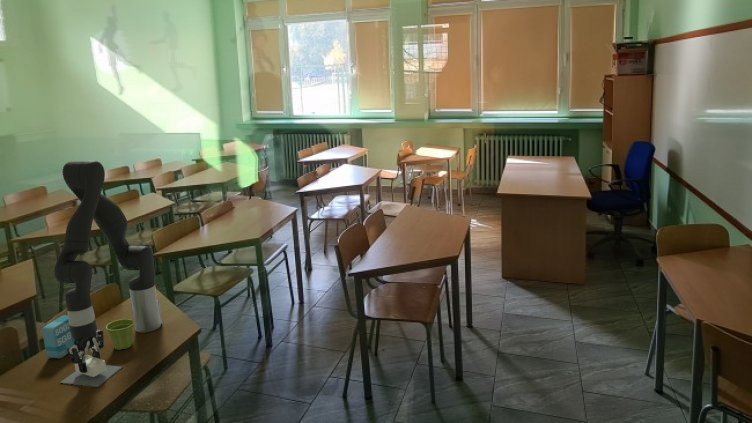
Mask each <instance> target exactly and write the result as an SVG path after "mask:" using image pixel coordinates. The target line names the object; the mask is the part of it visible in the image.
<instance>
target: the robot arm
mask: <svg viewBox="0 0 752 423" xmlns="http://www.w3.org/2000/svg"><path fill="white" fill-rule="evenodd" d="M62 177H63V180H64V182H65V184H66V186H67V187H68V188H69V189H70V190H71V192H72V193H73V194H74V195H75V196H76V197H77V198H78V200H79V201H80V203H79V206H78V207H77V208H76V210H75V211H74V213H73V214H72V216H71V217H70V219H69V221H68V223H67V225H66V227H65V228H66V229H65V235H64V242H63V248H62V249H61V251H60V253H59V256H58V258H57V260H56V262H55V265H54V270H53V272H54V273H53V274H54V278H55V279H56V281H57V282H59V283H61V284H75V288H71V289H68V290H67V291H66V292H65V294H64V299H65V304H66V309H67V315H68V321H69V326H70V331H71V336H72V337H73V338H74V345H73V346H72V347H71V348H68V349H67V351H68V354H67V355H68V357H69V359H70V361H71V364H74V365H75V364H78V366H79V371H80V372H81V373H86V372H87V367H86V362H85V360H86V355H89V354H88V353H89V350H90V351H91V356H92V357H95V358H99V359H102V358H101V354H100V352H101V349H103V348H104V339H105V338H104V330H100V329H98V326H97V322H96V315H95V310H94V308H93V304H92V299H91V286H92V279H93V269H92V266H91V264H89V263H88V261H85V260H76V259H77V257H78V256H79V255H82V254H86V253H87V252H88V251H89V248H90V241H91V240H90V239H91V233H92V227H93V226H92V225H93V222H94V223H95V224H96V226H97V227H98V228H99V230H100V231H101V233H102V234H103V235H104V237H105V239H106V240H107V242H108V243H109V246H110V247H111V248H112V250H113V251H112V252H114V254H115V256H116V258H117V260H118V263H119V265H120V266H121V267H122V268H123V269H124V270H127V271H139V274H138V276H135V277H132V278H131V279H130V280H129V281H128V288H129V289H128V290H129V295H130V302H131V306H132V314H133V321H134V328H135V332H137V333H139V334H140V333H141V334H143V333H144V334H145V333H150V332H154V331H157V330H158V329H160V328H161V326H162V324H163V320H162V314H161V306H160V301H159V300H158V295H157V289H156V280H155V279H156V271H155V257H154V253H153V250H152V248H151V247H150V246H147V245H131V244H130V243H129V242H128V241H127V239H126V234H127V231H128V226H129V223H128V219H127V218H126V216H125V213H124V212H123V211H122V209H121V207H120V206H119V205H118V204H117V203H116V202H114V201H112V200H111V199H110V198H108V197H107V196H105V195H104V194H102V191H103V188H104V184H105V179H106V171H105V168H104V166H103V164H102V163H101V162H100V161H98V160H71V161H68V162H66V163H65V164H64V165H63V167H62ZM80 358H82V359H80Z"/></svg>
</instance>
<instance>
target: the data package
mask: <svg viewBox="0 0 752 423" xmlns="http://www.w3.org/2000/svg"><path fill="white" fill-rule="evenodd" d="M41 332H42V333H41V334H42V338H43V343H44V349H45V352H46V357H47V358H49V359H62V358H64V357H65V356H67V355H69V354H68V351H67V349H68V348H71V347H72V346H73V345H74V338H73V337H72V336H71V331H70V326H69V321H68V314H67V315H66V314H63V315H61V316H59V317H58V318H56V319H55V320H53V321H52V322H49V323H47V324H46V325H45V326H43V328H42V330H41Z"/></svg>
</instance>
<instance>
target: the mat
mask: <svg viewBox="0 0 752 423" xmlns="http://www.w3.org/2000/svg"><path fill="white" fill-rule="evenodd" d="M122 369H123V366H118V365H107V364H106V371H104V372H102V373H100V374H98V375H97V376H95V377H91V376H88V375H85V374H83V373H80V372H77V371H76V370H75V371H73V373H71V374H70V375H68V376H67V377H66V378H64V379H62V380H61V381H60V383H59V384H61V383H63V385H71V384H73V385H72V386H81V385H82V387H92V388H99V387H100V386H101V385H103V384H104V383H105V382H106V381H108V380H109V379H110V378H112V377H113V376H114V375H116V374H117V373H118V372H120V371H121V370H122Z"/></svg>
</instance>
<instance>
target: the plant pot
mask: <svg viewBox="0 0 752 423" xmlns="http://www.w3.org/2000/svg"><path fill="white" fill-rule="evenodd" d="M134 325H135V322H134V319H131V318H130V319H129V318H120V319H117V320H113V321H111V322H108V323H107V325H106V326H105V330H107V332H108V334H109V336H110V339H111V343H112V345H113V348H114V350H123V349H125V350H127V349H128V348H130V347H132V346H133V329H134Z"/></svg>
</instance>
